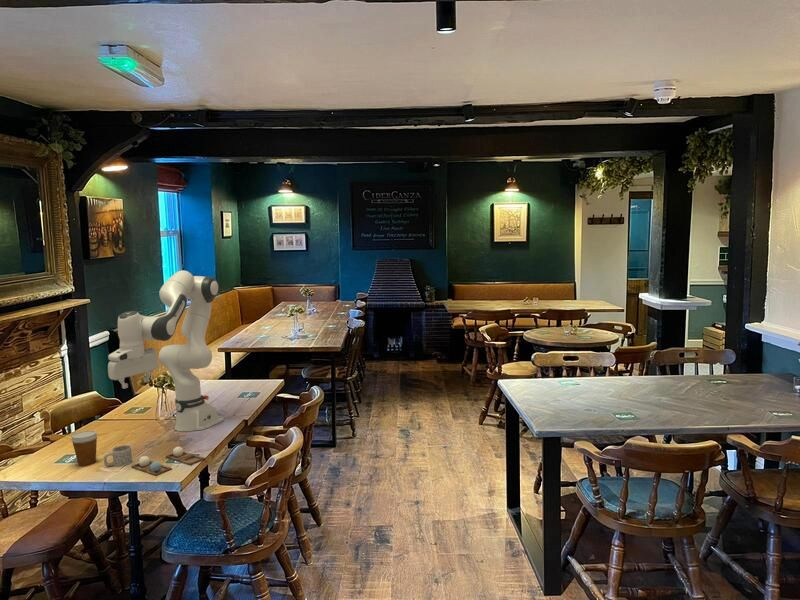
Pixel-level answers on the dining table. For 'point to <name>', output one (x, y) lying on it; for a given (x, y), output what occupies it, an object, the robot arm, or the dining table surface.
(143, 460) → the ivory ball
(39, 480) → the dining table surface
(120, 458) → the mug
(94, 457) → the disposable coffee cup
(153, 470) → the ball blue
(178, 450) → the ivory ball
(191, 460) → the rack
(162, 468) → the tray
